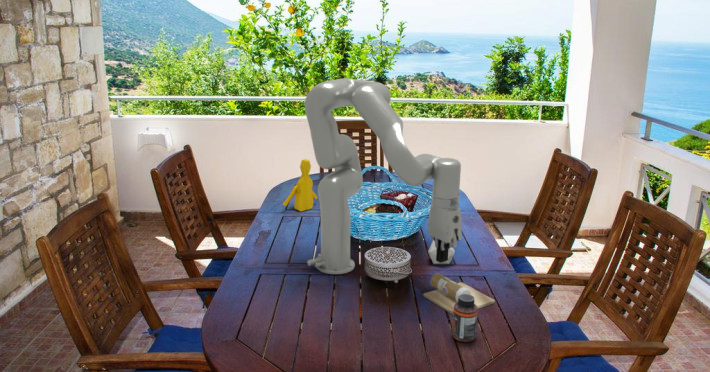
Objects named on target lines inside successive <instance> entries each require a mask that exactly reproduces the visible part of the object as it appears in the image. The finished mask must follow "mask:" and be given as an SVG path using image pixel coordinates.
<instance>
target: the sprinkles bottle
mask: <svg viewBox="0 0 710 372" xmlns="http://www.w3.org/2000/svg"><path fill="white" fill-rule="evenodd" d="M429 282H430V285H431V287H433V288H435V290H437V289H438V290H439V291H441V292H443V293H444V294H446V295H448V296H450V297H452V298H453V299H455V300H456V301H457V302H458V297H459V295H461V294H469V295H471V291H470V290H469V289H467V288H465V287H462V286H460V285H459V284H457V283H458V282H456V281H453V280H452V279H450V278H449V277H446V276H444V275H443V274H441V273H439V272H436V273H434V274H433V275H432V276H431V278H430V281H429Z"/></svg>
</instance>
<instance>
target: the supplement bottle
mask: <svg viewBox="0 0 710 372" xmlns="http://www.w3.org/2000/svg"><path fill="white" fill-rule="evenodd" d="M478 310H479V309H477V306H476V305H475V304H474V297H473V296H472V295H469V294H461V295H459V297H458V302H457V303H455V305H454V311H453V314H452V325H451V326H452V329H451V336H452V338H453V339H454V340H456V341H458V342H461V343H469V342H473V341H474V340H475V339H476V333H477V321H478Z"/></svg>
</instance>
